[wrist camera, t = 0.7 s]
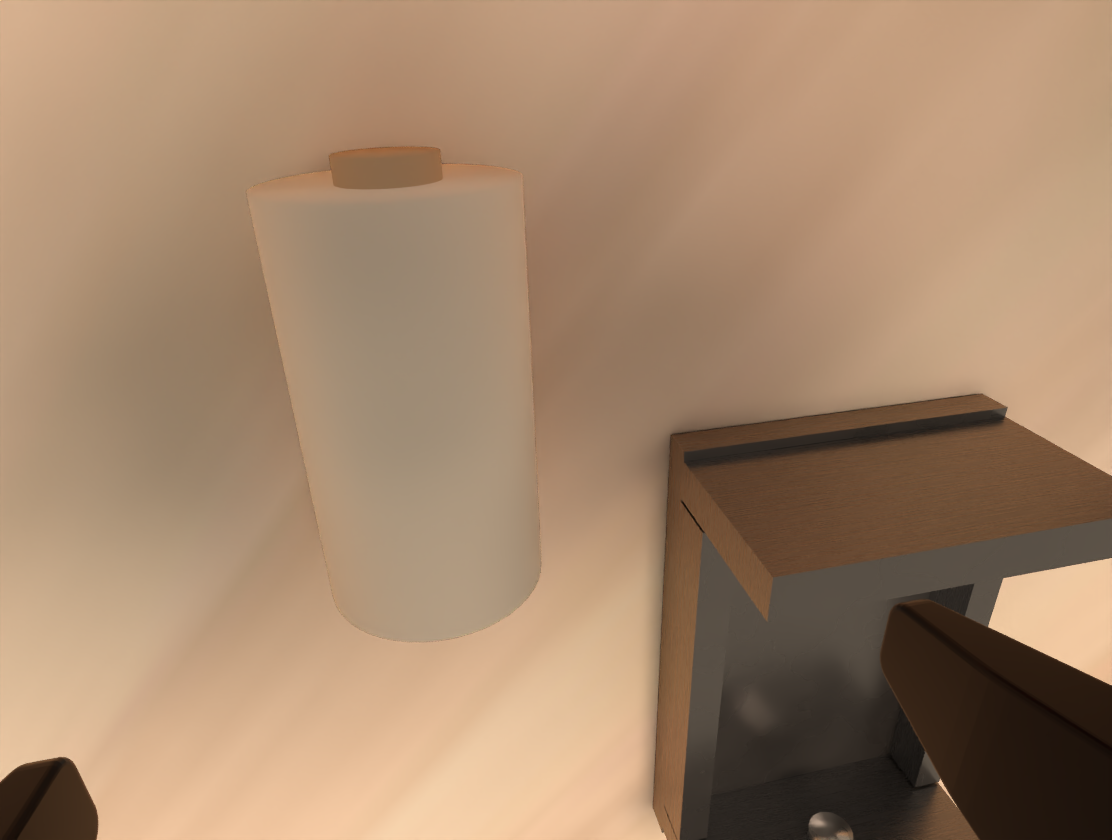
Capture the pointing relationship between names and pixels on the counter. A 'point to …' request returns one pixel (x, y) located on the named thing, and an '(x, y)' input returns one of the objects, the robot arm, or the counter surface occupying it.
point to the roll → (409, 382)
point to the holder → (838, 605)
